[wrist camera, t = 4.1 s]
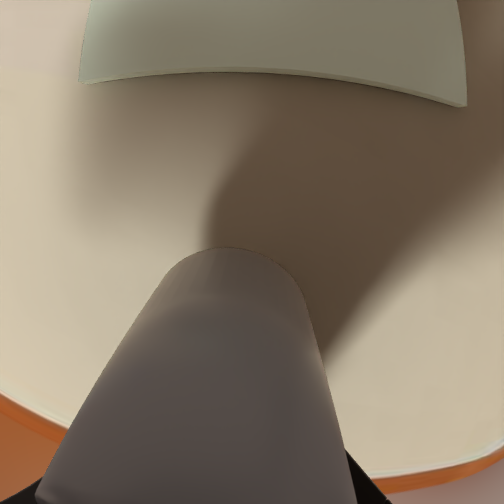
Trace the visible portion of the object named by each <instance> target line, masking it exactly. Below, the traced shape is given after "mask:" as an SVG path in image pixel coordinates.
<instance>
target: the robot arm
mask: <svg viewBox="0 0 504 504" xmlns="http://www.w3.org/2000/svg"><path fill="white" fill-rule="evenodd" d="M345 452H346V456H347V460H348V465H349V469H350V473H351V478H352V482H353V486H354V491H355V495H356V500H357V504H392V503H391V502H390V500H386V499H387V497H386V496H385V495H384V494H383V493H382V492H381V490H380V489H379V488H378V487H377V486H376V485H375V484H374V482H373V481H372V480H371V479H370V478H369V477H368V476H367V474H366V473H365V472H364V471H363V470H362V469H361V467H360V466H359V465H358V464H357V463H356V461H355V460H354V459H353V458H352V457H351V456H350V454H349V453H348V452H347V451H346V450H345ZM42 478H43V477H41V478H40V479H39V480H37V481H36V482H34V483H33V484H31V485H30V486H28V487H27V488H25V489H23V490H22V491H20V492H18V493H16V494H15V495H13V496H11V497H9V498H7V499H5V500H3V501H1V502H0V504H38V503H37V501H36V499H35V493H36V490H37V488H38V486H39V484H40V482H41V480H42Z"/></svg>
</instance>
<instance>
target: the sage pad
mask: <svg viewBox="0 0 504 504" xmlns="http://www.w3.org/2000/svg"><path fill="white" fill-rule="evenodd" d="M194 72H258V73H276V74H290V75H301V76H311V77H319V78H327V79H335V80H342V81H348V82H354V83H360V84H365V85H371V86H376V87H381V88H386V89H390V90H395V91H399V92H403V93H407V94H412V95H415V96H419V97H423V98H427V99H430V100H434V101H437V102H441V103H444V104H447V105H450V106H454V107H457V108H458V107H467V82H466V66H465V54H464V44H463V36H462V28H461V22H460V16H459V10H458V4H457V0H91V4H90V8H89V13H88V18H87V23H86V28H85V34H84V40H83V47H82V54H81V61H80V69H79V79H78V82H81V83H84V84H87V85H88V84H93V83H99V82H105V81H111V80H118V79H125V78H133V77H141V76H151V75H162V74H175V73H194Z"/></svg>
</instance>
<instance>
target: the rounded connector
mask: <svg viewBox="0 0 504 504" xmlns="http://www.w3.org/2000/svg"><path fill="white" fill-rule="evenodd" d="M35 499H36V501H37V503H38V504H357V500H356V495H355V491H354V486H353V482H352V478H351V473H350V469H349V465H348V460H347V456H346V452H345V448H344V444H343V440H342V436H341V432H340V428H339V424H338V420H337V416H336V412H335V408H334V404H333V400H332V396H331V392H330V389H329V385H328V381H327V377H326V374H325V370H324V366H323V363H322V359H321V355H320V352H319V348H318V345H317V341H316V337H315V334H314V330H313V327H312V323H311V320H310V316H309V313H308V310H307V306H306V303H305V299H304V297H303V294H302V292H301V290H300V288H299V286H298V285H297V283H296V281H295V280H294V279H293V278H292V277H291V275H290V274H289V273H288V272H287V271H286V270H285V269H284V268H282V267H281V266H280V265H278V264H277V263H276V262H274V261H273V260H271V259H269V258H267V257H265V256H263V255H261V254H258V253H255V252H253V251H249V250H244V249H238V248H214V249H208V250H204V251H201V252H197V253H195V254H193V255H190V256H188V257H186V258H185V259H183V260H182V261H180V262H179V263H177V264H176V265H175V266H174V267H173V268H171V270H170V271H169V272H168V273H167V274H166V275H165V277H164V278H163V280H162V281H161V282H160V284H159V285H158V287H157V288H156V290H155V291H154V293H153V294H152V296H151V297H150V299H149V300H148V302H147V303H146V305H145V306H144V308H143V309H142V311H141V312H140V314H139V315H138V317H137V318H136V320H135V321H134V323H133V324H132V326H131V327H130V329H129V330H128V332H127V334H126V335H125V337H124V338H123V340H122V341H121V343H120V344H119V346H118V348H117V349H116V351H115V352H114V354H113V356H112V357H111V359H110V360H109V362H108V364H107V365H106V367H105V368H104V370H103V372H102V373H101V375H100V377H99V378H98V380H97V382H96V383H95V385H94V387H93V388H92V390H91V392H90V393H89V395H88V397H87V398H86V400H85V402H84V403H83V405H82V407H81V409H80V410H79V412H78V414H77V415H76V417H75V419H74V421H73V422H72V424H71V426H70V428H69V430H68V431H67V433H66V435H65V437H64V439H63V440H62V442H61V444H60V446H59V448H58V450H57V451H56V453H55V455H54V457H53V459H52V461H51V463H50V465H49V466H48V468H47V470H46V472H45V474H44V476H43V478H42V480H41V482H40V484H39V486H38V488H37V490H36V493H35Z"/></svg>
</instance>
